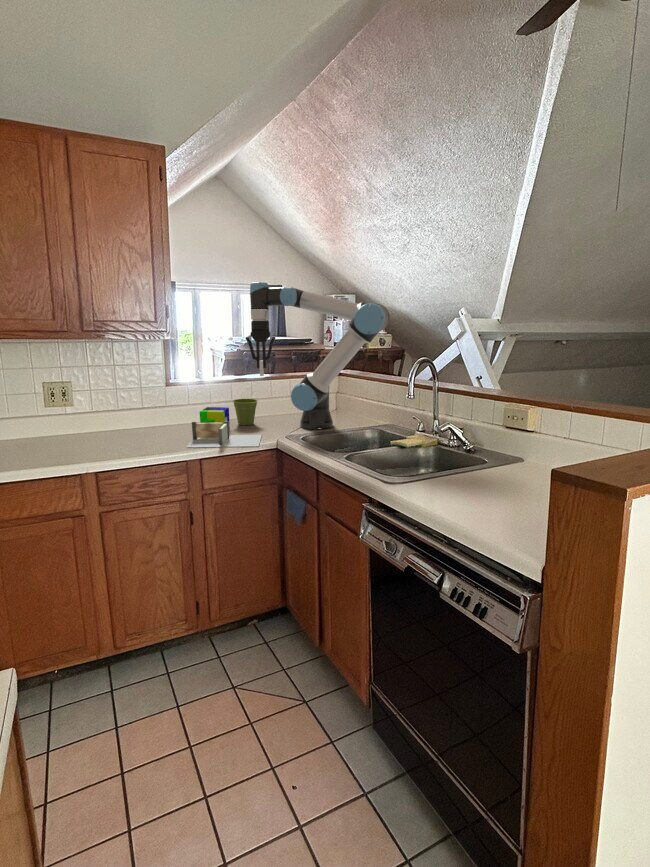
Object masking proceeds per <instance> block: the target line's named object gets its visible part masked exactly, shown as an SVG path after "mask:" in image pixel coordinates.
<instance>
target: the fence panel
mask: <svg viewBox="0 0 650 867" xmlns="http://www.w3.org/2000/svg"><path fill="white" fill-rule="evenodd" d="M218 437H219V445H223V443H224V442H225V441H226V439H227V438H228V433H227V424H223V425H222V427H221V428H219V429H218Z"/></svg>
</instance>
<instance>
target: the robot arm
mask: <svg viewBox="0 0 650 867" xmlns="http://www.w3.org/2000/svg"><path fill="white" fill-rule="evenodd" d="M249 287H250V288H249V297H250V298H249V300H250V319H251V321H250V323H251V324H250V325H251V328H250V329H251V331H250V333H249V335H248V336H246V337H245V340H246V341H247V344H248V347H249V351H250V353H251V358H252V359H253V360H255V361H256V367H257V369H259V377H264V375H265V372H264V369H266V367H267V360H270V359H271V355H272V349H273V345H274V342H275V340H276V337H275V336H274V335H272V334H271V332H270V321H269V319H270V317H269V316H270V312H269V310H270V308H269V307H272V306H274V307H293V308H294V307H295V308H296V309H297V308H299V309H303V310H307V311H310V312H316V313H319V314H323V315H328V316H331V317H334V318H339V319H342V320H348V321H349V322H348V323H347V325H348V328H347V331H346V332H345V334H343V335H342V337H341V338H340V339H339V340H338V342H337V343H336V345H335V346H334V347H333V348H332V349H331V350H330V352H329V353H328V354H327V355H326V356H325V358H324V359H323V360H322V361H321V363H320V364H319V365H318V366H317V367H316V369H315V370H314V371H313V372H312V373H311V372H310V373H307V374H306V375H305V376H304V377H303V379H302V380H301V382H299V383H298V384H296V385H295V386H294V387H293V389H292V390H291V393H290V400H291V403H292V404H293V406H294V407H295V408H296V409H297V410H299V411H302V415H301V418H300V421H299V422H300V423H299V427H301V428H302V429H308V430H319V429H318V428H327V429H330V428H329V427H331V428H332V427H333V426H334V421H333V417H332V413H331V411H330V385H331V384H332V382H333V381H334V380H335V379H336V378H337V377H338V376H339V374H340V373H341V372H342V371H343V370H344V368H345V367H346V366H347V365H348V364H349V363H350V361H351V360H352V359H353V357H355V355H356V354H357V353H358V352H359V350H360V349H362V347H363V346H364V345H365V344H370V343H371V342H372V341H373V340H374V339H375V338H376V336H377V335H378V334H379V333H380V332H382V331H384V330H385V329H386V328H387V327H388V326H389V323H390V318H391V317H390V312H389V310H388V309H387V307H386V306H384V305H383V304H381V303H374V302H363V301H361V302H360V303H358V302H352V301H348V300H343V299H339V298H335V297H332V296H327V295H324V294H318V293H314V292H310V291H306V290H302V289H298V288H297V287H296V288H295V287H293V286H276V287H275V286H274V287H271V286H269V283H268V282H265V281H263V282H259V281H257V282H256V281H255V282H254V281H253V282H251V283H250V286H249ZM252 340H254V342H255V347H256V352H255V348H254V347H253V342H252ZM268 340H270V342H269V346H268V351H266V350H267V349H266V342H267V341H268ZM260 343H261V345H262V346H261V348H262V349H261V350H262V359H261V351H260ZM255 353H256V354H255ZM266 354H267V355H266Z"/></svg>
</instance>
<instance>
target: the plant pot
mask: <svg viewBox="0 0 650 867" xmlns="http://www.w3.org/2000/svg"><path fill="white" fill-rule="evenodd" d="M258 402H259V400H258V399H255V398H237V399H236V398H235V399H232V403H233V406H234V408H235V409H234V410H235V414H236V420H237V424H238V425H239V426H251V425H254V424H255V415H256V409H257V405H258Z"/></svg>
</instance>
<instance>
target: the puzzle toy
mask: <svg viewBox="0 0 650 867" xmlns="http://www.w3.org/2000/svg"><path fill="white" fill-rule="evenodd" d="M225 421H228V422H229V431H230V430H231V427H230V426H231V423H230V422H231V421H230V407H225V406H224V407H222V406H221V407H217V406H216V407H215V406H214V407H213V406H207V407H205V408H203V409H202V410H200V411H199V423H223V424H224V422H225Z"/></svg>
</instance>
